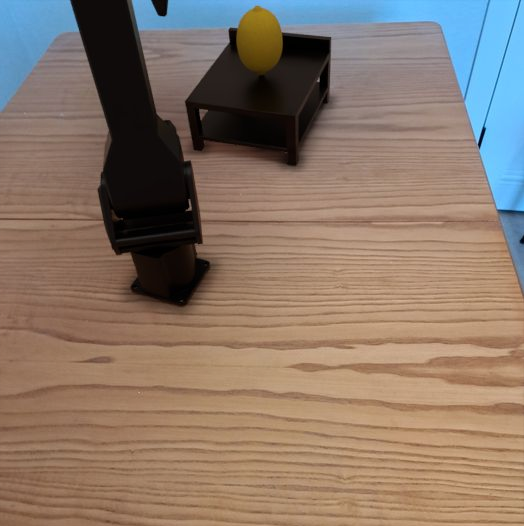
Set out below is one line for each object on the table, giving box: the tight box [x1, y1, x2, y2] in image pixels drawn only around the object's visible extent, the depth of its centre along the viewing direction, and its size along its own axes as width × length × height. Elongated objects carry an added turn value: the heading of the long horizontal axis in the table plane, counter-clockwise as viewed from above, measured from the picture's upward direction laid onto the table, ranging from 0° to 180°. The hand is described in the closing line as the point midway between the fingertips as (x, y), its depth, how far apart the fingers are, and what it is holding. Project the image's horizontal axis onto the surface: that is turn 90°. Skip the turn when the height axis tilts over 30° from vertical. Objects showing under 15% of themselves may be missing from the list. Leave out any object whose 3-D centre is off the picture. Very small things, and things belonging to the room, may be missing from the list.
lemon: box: [236, 5, 283, 75], centre depth 69 cm, size 6×6×8 cm
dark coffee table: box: [184, 27, 332, 167], centre depth 74 cm, size 16×14×8 cm
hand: (143, 33), depth 67 cm, fingers open, 9 cm apart
